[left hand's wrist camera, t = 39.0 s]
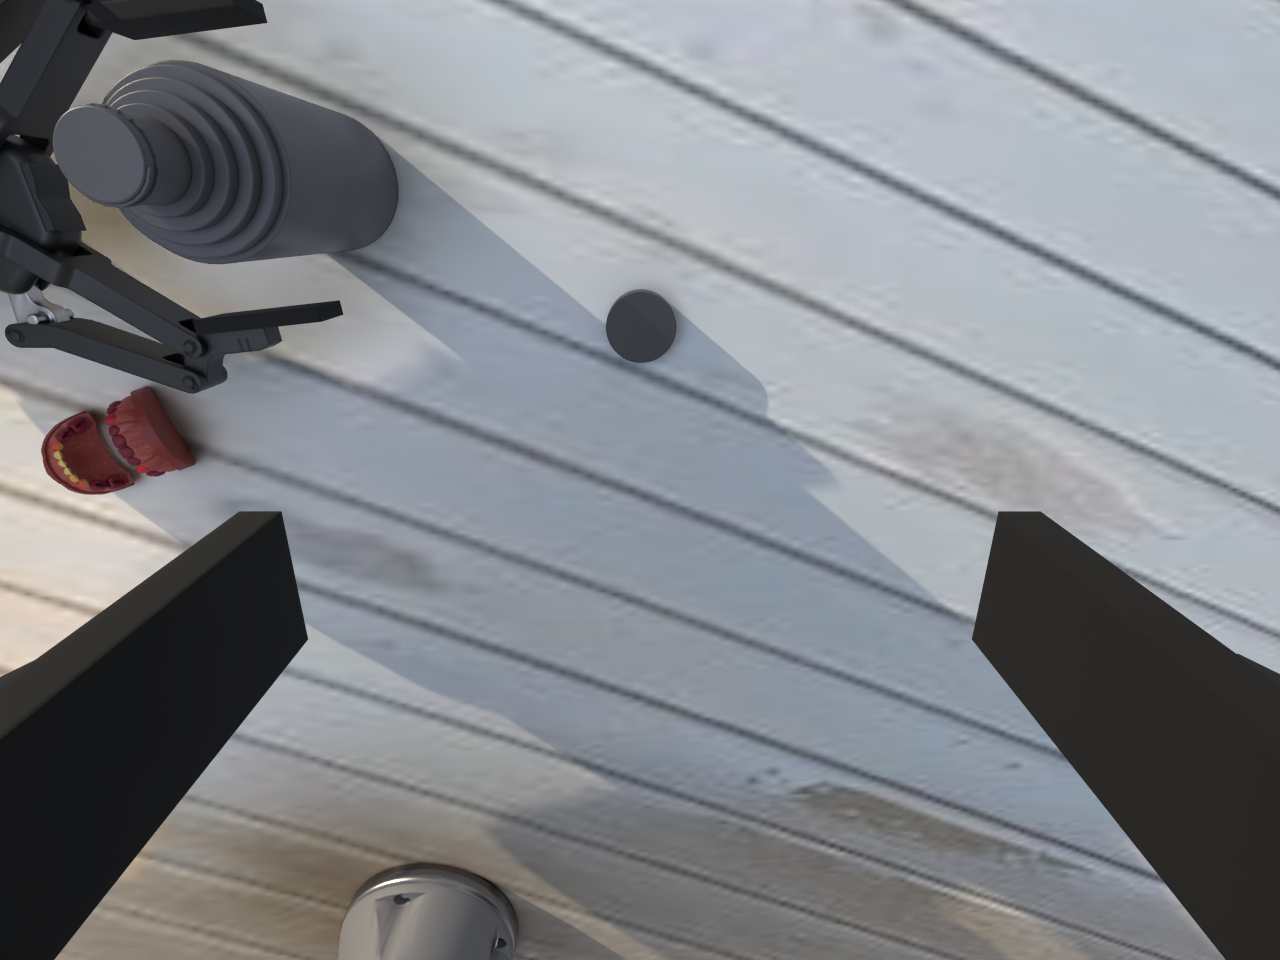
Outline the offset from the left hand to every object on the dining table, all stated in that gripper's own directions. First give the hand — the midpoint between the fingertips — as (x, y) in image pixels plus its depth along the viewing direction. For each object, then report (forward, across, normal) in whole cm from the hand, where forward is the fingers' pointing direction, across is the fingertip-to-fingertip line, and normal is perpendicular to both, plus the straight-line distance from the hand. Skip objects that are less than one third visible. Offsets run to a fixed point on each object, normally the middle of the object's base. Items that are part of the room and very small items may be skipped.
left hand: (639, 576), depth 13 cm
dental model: (+32, +33, +7) cm, 46 cm away
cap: (+30, 0, 0) cm, 30 cm away
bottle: (+32, +18, -8) cm, 37 cm away
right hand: (+25, +17, -9) cm, 31 cm away
